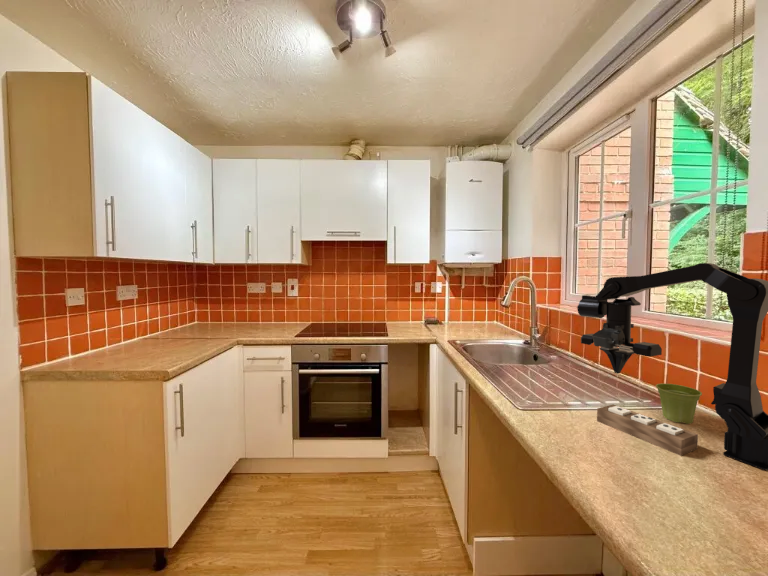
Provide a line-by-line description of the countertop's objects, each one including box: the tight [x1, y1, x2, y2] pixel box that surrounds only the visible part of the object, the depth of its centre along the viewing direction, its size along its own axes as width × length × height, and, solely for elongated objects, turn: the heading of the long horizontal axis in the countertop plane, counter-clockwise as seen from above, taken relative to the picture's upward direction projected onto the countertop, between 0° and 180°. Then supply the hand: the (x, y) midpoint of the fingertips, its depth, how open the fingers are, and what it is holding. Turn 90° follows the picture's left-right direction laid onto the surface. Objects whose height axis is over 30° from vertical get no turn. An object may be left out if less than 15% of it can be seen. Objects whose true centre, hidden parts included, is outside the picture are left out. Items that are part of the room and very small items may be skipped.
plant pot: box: [655, 383, 703, 425], centre depth 87 cm, size 9×9×9 cm
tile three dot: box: [631, 413, 657, 425], centre depth 79 cm, size 4×4×3 cm
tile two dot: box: [656, 422, 684, 436], centre depth 74 cm, size 4×4×3 cm
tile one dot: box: [608, 405, 632, 416], centre depth 84 cm, size 4×4×3 cm
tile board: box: [596, 404, 699, 457], centre depth 79 cm, size 18×7×4 cm, turn 23°
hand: (617, 373), depth 90 cm, fingers closed
